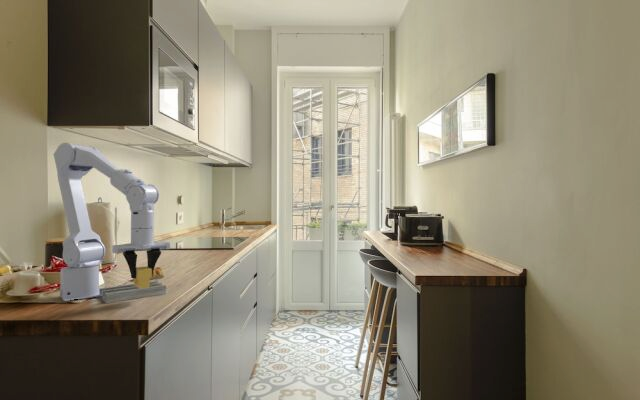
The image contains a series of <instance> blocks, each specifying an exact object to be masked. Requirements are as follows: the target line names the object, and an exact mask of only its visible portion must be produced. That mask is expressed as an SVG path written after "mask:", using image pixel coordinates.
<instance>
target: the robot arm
mask: <svg viewBox="0 0 640 400" xmlns="http://www.w3.org/2000/svg"><path fill="white" fill-rule="evenodd" d="M53 158H54V161H55V162H54V163H55V167H56V171H57V172H56V173H57V175H56V176H57V182H58V186H59V190H60V195H61V199H62V205H63V207H64V208H63V209H64V213H65V214H64V215H65V218H66V222H67V226H68V230H69V235H68V236H67V237H66V238H65V239H64V240H63V242H62V260H63V262H64V263H65V264H66V267H61V268H60V277H59V278H60V279H59V280H60V281H59V283H60V285H59V286H60V289H59V297H60V296H61V297H60V298H61V300H62V301H63V302H69V301H70V300H71V301H75V300H74V299H78V300H84V299H91V298H98V297H99V288H100V265H101V264H102V260H103V259H104V258H105V257H106V251H107V250H106V247H105V245H104V243H103V242H102V240H101V235H99V234H97V233H96V232H95V231H94V230H93V229H92V225H91V221H90V217H89V212H88V208H87V204H86V203H87V202H86V199H85V194H84V190H83V185H82V181H81V180H82V178H83V177H85V176H87V174H88V173H90V172H91V170H93V169H95V170H97V171H98V172H100V173H101V174H103V175H104V176H106V177H107V178H109V179H110V180H109V181H110V182H109V183H110V184H111V186H112V187H114V189H116V190H117V191H118V192H120V193H122V194H123V195H124V196H125V198H126V201H127V204H128V205H129V210H130V243H125V244H115V245H112V246H111V248H112V249H111V252H112V254H119V253H122V255H123V257H124V258H125V261H126V263H127V266H128V268H129V272H130V278H132V279H133V280H134V279H136V267H137V262H138V261H137V259H138V254H137V252H143V251H144V252H146V259H147V267H149V268H151V269H152V275H153V271H154V268H156V264H157V262H158V259H159V258H160V257H161V254H162V251H161V250H170V249H171V243H170V242H169V241H159V242H158V241H156V242H155V241H154V236H155V235H154V233H155V232H154V230H155V229H154V228H155V218H154V217H155V204H156V203H157V202H158V200H159V197H160V194H159V191H158V189H157V187H156V186H155V185H153V184H150V183H149V184H146V183H145V181H144V180H143V179H140V178H138V177H137V176H135V175H134V174H133V171H132V170H131V169H127V168H120V169H119V168H118V167H117V166H115V164H114V163H112V162H111V161H110V160H109V159H108V158H106V157H105V156H104V155H103V154H102V152H101V150H98V149H97V148H96V147H93V146H85V145H80V144H73V143H69V142H62V143H60V144H59V145H58V147H57V148H56V150H55V152H54V153H53ZM99 298H100V297H99Z"/></svg>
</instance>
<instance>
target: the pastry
mask: <svg viewBox="0 0 640 400" xmlns="http://www.w3.org/2000/svg"><path fill="white" fill-rule="evenodd" d="M164 277H165V272H164V271H163V268H162V267H154V271H153V275H152V278H150V281H155V280H158V279H159V280H160V279H164Z"/></svg>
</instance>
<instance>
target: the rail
mask: <svg viewBox="0 0 640 400" xmlns="http://www.w3.org/2000/svg"><path fill="white" fill-rule="evenodd" d="M166 294H167V285H166V284H162V282H159V281H158V280H150V287H147V288H138V286H134V283H130V284H121V285H115V286H114V285H113V286H108V287H107V286H106V287H99V299H101V301H103V302H104V303H105V304H110V303H111V304H112V303H116V302H117V303H118V302H123V301H128V300H136V299H141V298H148V297H154V296H160V295H166Z"/></svg>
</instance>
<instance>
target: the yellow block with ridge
mask: <svg viewBox="0 0 640 400" xmlns="http://www.w3.org/2000/svg"><path fill="white" fill-rule="evenodd" d="M150 278H152V269H151V268H149V267H148V265H147V266H146V265H143V266H136V279H133V284H134V286H138V288H147V287H150V282H151V280H150Z"/></svg>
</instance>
